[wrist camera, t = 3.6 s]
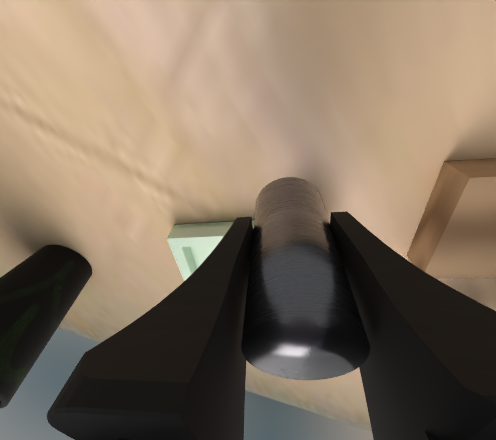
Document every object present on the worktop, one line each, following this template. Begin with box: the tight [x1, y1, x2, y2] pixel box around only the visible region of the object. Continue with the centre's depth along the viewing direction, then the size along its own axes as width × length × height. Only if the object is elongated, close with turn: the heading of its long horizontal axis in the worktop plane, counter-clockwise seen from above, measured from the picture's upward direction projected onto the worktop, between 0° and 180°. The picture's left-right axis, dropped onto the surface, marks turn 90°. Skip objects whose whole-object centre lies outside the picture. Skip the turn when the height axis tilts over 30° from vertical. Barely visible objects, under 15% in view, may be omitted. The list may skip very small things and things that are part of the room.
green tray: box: [167, 220, 254, 281], centre depth 23 cm, size 9×9×2 cm
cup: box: [0, 245, 92, 408], centre depth 21 cm, size 8×8×12 cm
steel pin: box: [241, 177, 370, 380], centre depth 9 cm, size 3×3×7 cm
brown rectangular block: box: [407, 159, 496, 278], centre depth 18 cm, size 9×6×3 cm, turn 5°
